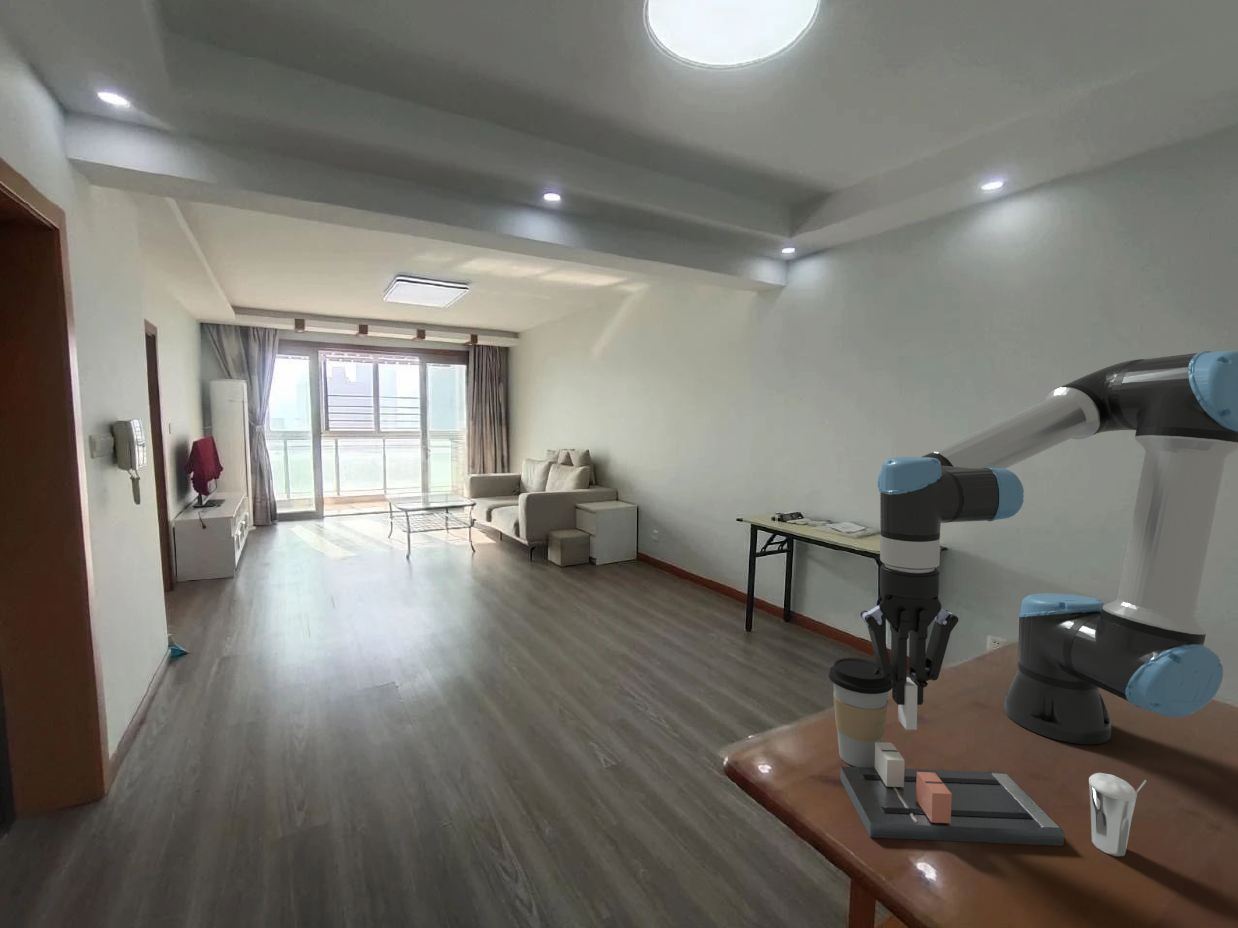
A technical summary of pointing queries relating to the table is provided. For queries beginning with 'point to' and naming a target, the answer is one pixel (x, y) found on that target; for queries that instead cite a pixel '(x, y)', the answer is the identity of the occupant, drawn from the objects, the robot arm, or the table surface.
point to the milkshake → (1111, 812)
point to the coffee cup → (859, 708)
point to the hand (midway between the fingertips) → (907, 724)
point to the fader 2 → (933, 797)
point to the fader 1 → (889, 764)
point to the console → (977, 808)
